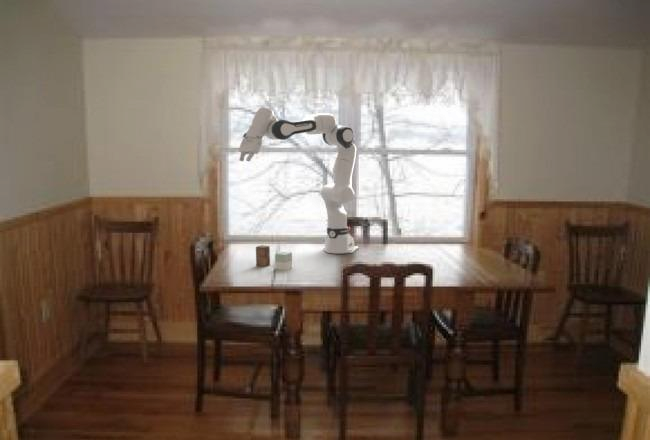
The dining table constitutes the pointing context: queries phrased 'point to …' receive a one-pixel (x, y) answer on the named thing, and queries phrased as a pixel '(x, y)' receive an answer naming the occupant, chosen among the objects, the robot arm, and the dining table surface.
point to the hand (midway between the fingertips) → (244, 160)
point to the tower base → (283, 265)
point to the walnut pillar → (262, 256)
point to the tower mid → (283, 257)
